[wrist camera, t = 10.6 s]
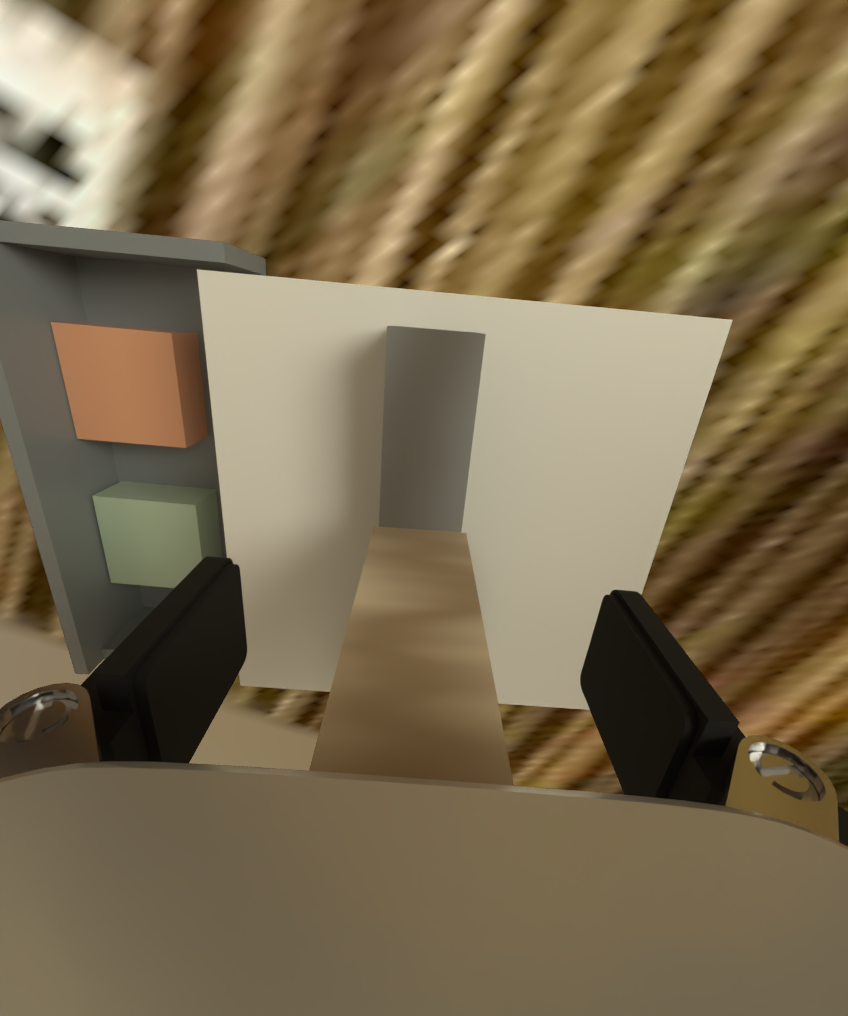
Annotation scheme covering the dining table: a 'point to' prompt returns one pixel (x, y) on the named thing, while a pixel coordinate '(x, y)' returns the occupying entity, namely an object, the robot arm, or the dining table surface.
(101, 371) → the terracotta tile
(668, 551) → the dining table surface
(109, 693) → the robot arm
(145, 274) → the tray
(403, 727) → the scraper
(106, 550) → the green tile
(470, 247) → the dining table surface
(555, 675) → the white flat square block
